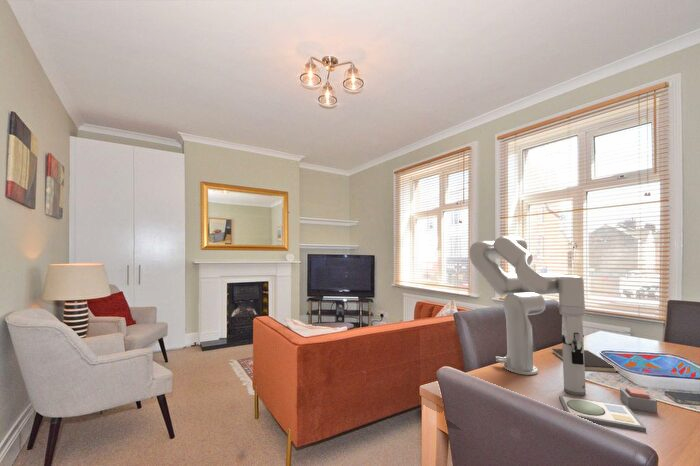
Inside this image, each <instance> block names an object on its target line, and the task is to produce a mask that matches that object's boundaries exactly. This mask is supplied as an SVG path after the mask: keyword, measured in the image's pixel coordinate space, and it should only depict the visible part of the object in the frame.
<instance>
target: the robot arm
mask: <svg viewBox="0 0 700 466" xmlns="http://www.w3.org/2000/svg"><path fill="white" fill-rule="evenodd" d="M533 257H534V256H533V255H532V253H530V252H529V251H528V245H527V242H526V240H525V239H524V238H523V237H521V236H517V235H516V236H510V235H507V236H506V235H505V236H503V235H502V236H499V237H498V238H496V239H495V240H480V241H475V242H473V244H471V245H470V247H469V259H470V262H471V264H472V265H473V267H474V268H475V269H476V270H477V271H478V272H479V273H480V274H481V275H482V277H483V278H484V279H485V281H486V282H487V283H488V284H489V286H490V287H491V288H492V289H493V291H494V292H495V293H496V294H497V295H498V296H502V297H503V296H505V297H504V298H503V300H502V301H503V302H502V306H503V310H504V315H505V322H506V324H505V325H506V349H507V350H506V352H507V353H506V356H495V361H496V362H498V363H501V364H502V363H503V368H504V367H505V368H504V369H505V370H506V369H507V370H506V371H508V370H509V371H508V372H510V371H511V373H513V372H514V373H513V374H518V375H524V376H525V375H526V376H531V375H536V374H538V372H539V369H538V367H537V366H535V365H534V347H533V346H534V344H533V343H534V342H533V326H532V323H531V320H530V319H529V316H531V315H534V316H535V315H540V314H542V313H543V312H544V311H545V310H546V306H547V305H546V301H545V298H544V297H543V295H551V294H552V295H554V294H555V295H556V294H558V301H559V302H558V304H559V305H558V306H559V314H560V315H562V317H561V336H562V335H563V336H564V337H565V342H566V343H567V344H571V345H572V351H571V352H572V363H573V364H579V365H583V364H584V361H583V350H582V345H584V342H585V341H584V339H585V336H584V337H583V335H584V325H583V323H584V322H583V317H586V304H585V285H584V282H585V281H584V278H583V277H582V276H580V275H567V274H561V273H538V272H537V271H536V270H534V269H533V267H531V266H530V265H531V264H532V262H533ZM491 259H504V260H505V261H506V262H508V263H509V264H510V265H511V266H512V267H513V268H515V269H514V272H515V273H507V272H505V271H504V270H503V269H502V267H501V266H500V265H499V264H498V263H497V262H496V261H495V262H494V261H493V260H491ZM574 337H575V338H574ZM573 342H576V343H573ZM581 342H582V343H581ZM574 346H575V348H574Z"/></svg>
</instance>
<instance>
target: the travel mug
mask: <svg viewBox="0 0 700 466" xmlns="http://www.w3.org/2000/svg"><path fill="white" fill-rule="evenodd" d="M583 337H584V338H585V335H584V334H583ZM574 338H575V337H574ZM561 340H562V341H561V346H562V348H561V349H562V350H563V359H562V369H563V372H562V373H563V390H564V391H565V392H566V393H568V394H569V395H570V394H571V395H575V396H586V393H587V391H586V372H585V371H586V370H585V364H583V365H579V364H573V363H572V352H571V351H572V345H571V344H567V343H566V342H565V337H564V336H563V335H562V334H561ZM573 343H576V342H573ZM581 343H582V342H581ZM574 348H575V346H574ZM582 350H583V361H584V350H585V347H584V344H583V345H582Z"/></svg>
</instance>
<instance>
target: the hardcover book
mask: <svg viewBox="0 0 700 466" xmlns="http://www.w3.org/2000/svg"><path fill="white" fill-rule="evenodd" d="M551 350H552V353H553V354H555V355H556V356H557V357H558V358H560V359H561V360H563V350H562V348H551ZM607 362H608V361H607ZM607 362H606V360H605V359H603V358H602V357H600V356H599V355H596V354H595V353H593V352H592V351H590V350H588V349H587V350H586V349H584V364H585V371H598V372H612V373H613V372H615V373H617V372H616V371H615V369H614V367H613V366H614V365H613V364H612V365H613V366H612V365H610V364H611V363H610V364H608V363H609V362H608V363H607Z"/></svg>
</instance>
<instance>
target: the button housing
mask: <svg viewBox="0 0 700 466" xmlns="http://www.w3.org/2000/svg"><path fill="white" fill-rule="evenodd" d="M645 392H646V393H647V394H648V395H649V399H646V398H639V397H632V396H630V395H629V394H628V393H627V392H626V388H621V387H620V388H619V395H620V396H619V400H621V401H622V403H623V405H627V406H628V407H629V409H630V410H636V411H644V412H650V413H658V401H657V400H656V399H655V398H654V396H652V395H651V394H650V393H649V392H648V391H645Z"/></svg>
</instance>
